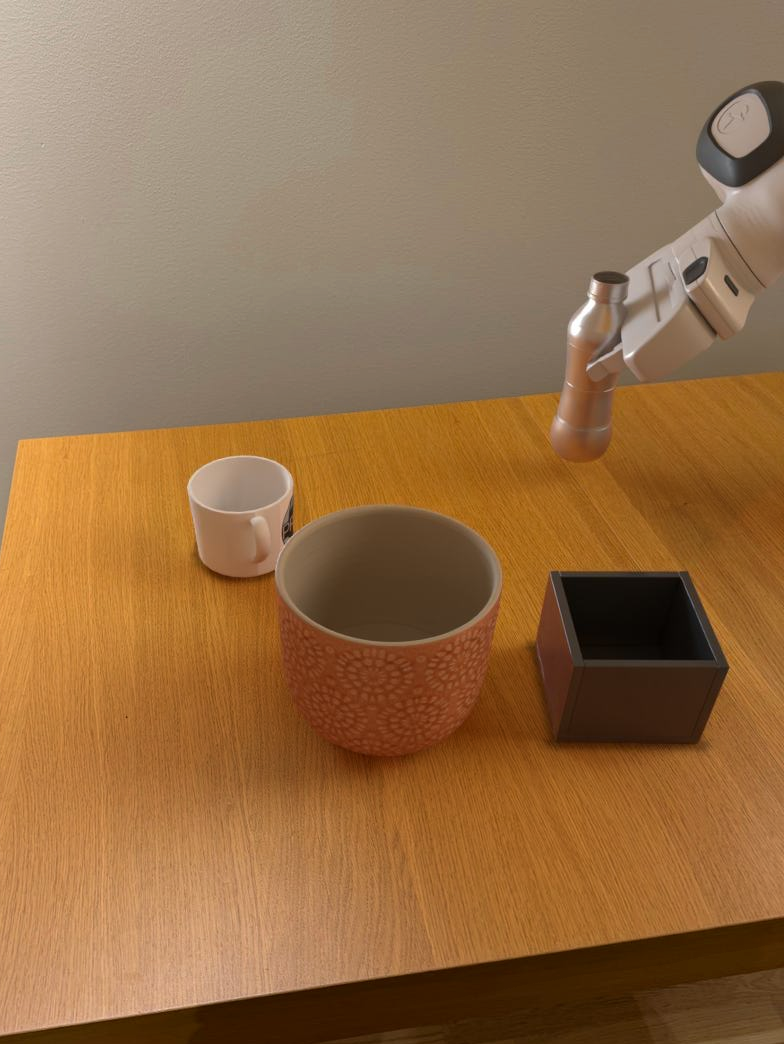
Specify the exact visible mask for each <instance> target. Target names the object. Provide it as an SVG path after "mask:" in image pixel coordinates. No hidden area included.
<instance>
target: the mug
mask: <svg viewBox="0 0 784 1044" xmlns="http://www.w3.org/2000/svg"><path fill="white" fill-rule="evenodd" d="M186 489H187V495H188V500H189V508H190V511H191V516H192V522H193V527H194V534H195V538H196V544H197V549H198V556H199V558H200V560H201V562H202V563H203V565H204V566H206V567H207V568H209V570H211V571H213V572H215V573H218V574H220V575H222V576H226V577H231V578H245V579H246V578H254V577H260V576H263V575H266V574H269V573H271V572H273V571H275V566H276V562H277V559H278V556H279V554H280V552H281V550H282V548H283V547H284V545H285V544H286V543H287V541H288V540H289V539H290V538H291V537H292V536H293V535H294V501H295V500H294V499H295V496H294V494H295V492H294V491H295V490H294V489H295V481H294V479H293V476H292V474H291V473H290V472H289V470H288V469H287V468H286V467H285V466H284V465H282V464H281V463H279V462H277V461H275V460H272V459H270V458H267V457H263V456H256V455H233V456H226V457H222V458H219V459H215V460H213V461H210V462H208V463H206V464H204V465H202V466H201V467H200V468H198V469H197V470H195V472H194V473H193V474H192V476H191V477H190V478H189V480H188V484H187V486H186Z"/></svg>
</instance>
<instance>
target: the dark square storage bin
mask: <svg viewBox="0 0 784 1044" xmlns="http://www.w3.org/2000/svg"><path fill="white" fill-rule="evenodd" d="M534 642H535V643H534V648H535V653H536V658H537V662H538V667H539V671H540V676H541V680H542V687H543V690H544V694H545V699H546V705H547V708H548V713H549V718H550V722H551V726H552V732H553V737H554V740H555V741H554V742H556V743H599V744H600V743H601V744H602V743H603V744H604V743H607V744H609V743H611V744H612V743H613V744H614V743H615V744H617V743H618V744H699V743H700V742H701V741H700V740H701V738H702V736H703V733H704V731H705V729H706V726H707V724H708V722H709V720H710V717H711V714H712V712H713V710H714V707H715V705H716V702H717V699H718V697H719V695H720V693H721V690H722V687H723V685H724V682H725V680H726V677H727V675H728V672H729V670H730V668H731V667H730V665H729V662H728V660H727V658H726V656H725V653H724V651H723V648H722V647H721V646H722V645H721V644H720V642H719V639H718V637H717V634H716V632H715V630H714V628H713V625H712V623H711V621H710V619H709V616H708V615H707V612H706V609H705V607H704V605H703V602H702V600H701V598H700V596H699V593H698V591H697V589H696V585H695V584H694V582H693V580H692V578H691V574H690V572H689V571H688V570H679V571H677V570H673V571H671V570H666V571H665V570H663V571H661V570H659V571H657V570H656V571H655V570H650V571H649V570H648V571H647V570H639V571H638V570H628V571H627V570H560V571H559V570H549V573H548V578H547V582H546V587H545V592H544V597H543V602H542V608H541V612H540V616H539V622H538V627H537V631H536V637H535V641H534Z"/></svg>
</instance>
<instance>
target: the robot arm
mask: <svg viewBox="0 0 784 1044" xmlns="http://www.w3.org/2000/svg"><path fill="white" fill-rule="evenodd" d="M703 124H704V125H703V126H702V128H701V130H700V132H699V135H698V138H697V142H696V146H695V158H696V161H697V163H698V167H699V169H700V172H701V174H702V175H703V177H704V179H705V180H706V181H707V183H708V184H709V186H710V187H711V188H712V189H713V191H714V192H715V194H716V196H717V197H718V198H719V200H720V201H721V202H722V205H721V206H720V207H718V208H716V209H715V210H713V212H711V213H710V214H708V215H707V216H706V217H705V218H703V219H702V220H700V221H699V222H698V223H697V224H695V225H693V226H692V227H691V228H690V229H689V230H687V231H686V232H685V233H683V234H681V236H680V237H678V238H677V239H675V240H674V241H673V242H669V243H668V244H666V245H664V246H662V247H661V248H659V249H658V250H655V252H653V253H652V254H650V255H648V256H647V257H645V258H644V259H642V261H640V262H638V263H637V264H636V265H634V266H633V267H631V268H630V269H629V270H628V271H626V272H625V273H624V274H626V275H627V276H629V278H630V284H629V288H628V297H627V299H626V300H625V301H623V303H624V305H625V307H626V309H627V311H628V313H627V316H626V318H625V320H624V322H623V324H622V326H621V339H622V342H621V343H620V344H618V345H617V346H616V347H614V351H612V352H610V353H608V354H606V355H604V356H602V357H600V356H598V357H597V358H595V359H594V360H592V361H590V362H589V363H587V365H586V372H587V375H588V376H589V378H590V379H591V380H592V381H593V382H599V381H600V380H602V379H603V378H604V377H606V376H607V375H609V374H612V373H615V372H618V371H620V372H621V371H622V372H623V371H625V370H627V369H629V370H630V371H631V372H632V374H633V375H634V376H635V377H636V378H637V380H639V382H640V383H642V384H647V383H651V382H656V381H658V380H660V379H662V378H664V377H665V376H667V375H669V374H671V373H673V372H674V371H676V370H677V369H679V368H681V367H682V366H684V365H685V364H686V363H688V362H690V361H691V360H693V359H695V358H696V357H698V356H699V355H700V354H702V353H703V352H704V351H706V350H707V349H708V348H710V347H711V346H712V344H713V343H715V341H716V339H717V336H718V337H719V338H720V339H721V340H722V341H726V340H727V341H728V340H729V339H730V338H733V337H734V336H735V335H737V334H738V333H739V332H741V331H742V330H743V328H744V327H745V325H746V320H747V317H748V315H749V311H750V308H751V306H752V305H753V303H754V301H755V298H756V297H757V296H758V295H759V294H761V293H762V292H763V291H765V290H766V289H768V288H770V286H772V285H773V284H774V283H775V282H776V281H777V280H778V279H779V278H780V277H781V275H782V274H784V82H783V81H779V80H763V81H758V82H754V83H751V84H748V85H746V86H744V87H741V88H740V89H738V90H737V91H735V92H734V93H732V94H730V95H729V96H728V97H726V98H725V99H724V100H723V101H722V102H721V103H720V104H718V106H717V107H716V108H715V109H714V110H713V111H712V112H711V114H710V115H709V116H708V118H707V120H706V121H705V122H704V123H703Z"/></svg>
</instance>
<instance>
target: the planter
mask: <svg viewBox="0 0 784 1044" xmlns="http://www.w3.org/2000/svg"><path fill="white" fill-rule="evenodd" d="M503 572H504V571H503V568H502V563H501V562H500V559H499V556H498V555H497V553H496V551H495V550H494V549H493V547H492V545H490V543H489V542H488V541H487V540H486V539H485V538H484V537H483V536H481V535H480V533H479V532H477V531H476V530H474V529H473V528H471V527H470V526H468V525H467V524H464V523H463V522H461V521H460V520H457V519H455V518H454V517H450V516H448V515H446V514H444V513H440V512H437V511H434V510H430V509H426V508H421V507H417V506H411V505H404V504H403V505H402V504H369V505H360V506H353V507H348V508H343V509H340V510H336V511H333V512H330V513H328V514H325V515H323V516H321V517H318V518H316V519H314V520H312V521H310V522H309V523H307V524H306V525H304V526H303V527H301V528H300V529H298V530H297V531H296V532H294V533H293V536H292V537H291V538H290V539H289V540H288V541H287V543H286V544H285V545H284V547H283V548H282V550H281V552H280V554H279V556H278V559H277V562H276V566H275V570H274V589H275V600H276V611H277V621H278V631H279V632H278V633H279V641H280V642H279V643H280V650H281V652H280V653H281V658H282V666H283V673H284V675H285V676H284V677H285V681H286V684H287V687H288V691H289V695H290V697H291V699H292V702H293V703H294V706H295V708H296V709H297V712H298V713H299V714H300V715H301V717H302V718H303V719H304V721H305V722H306V724H308V725H309V727H310V728H311V729H312V730H314V732H316V733H317V734H318V735H319V736H321V737H323V739H325V740H326V741H328V742H330V743H332V744H333V745H336V746H338V747H340V748H342V749H346V750H347V751H351V752H353V753H357V754H362V755H367V756H373V757H397V756H398V757H399V756H404V755H409V754H414V753H418V752H421V751H425V750H427V749H429V748H431V747H433V746H435V745H438V744H440V743H441V742H443V741H444V740H446V739H447V738H449V737H450V736H451V735H452V734H454V733H455V732H456V731H457V730H458V728H460V727H461V726H462V725H463V724H464V722H465V721H466V720H467V718H468V717H469V715H470V714H471V712H472V711H473V708H474V706H475V704H476V703H477V700H478V698H479V695H480V692H481V690H482V687H483V684H484V681H485V677H486V673H487V669H488V665H489V660H490V656H491V652H492V651H491V650H492V645H493V641H494V635H495V631H496V625H497V621H498V615H499V611H500V605H501V599H502V594H503V585H504V573H503Z"/></svg>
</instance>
